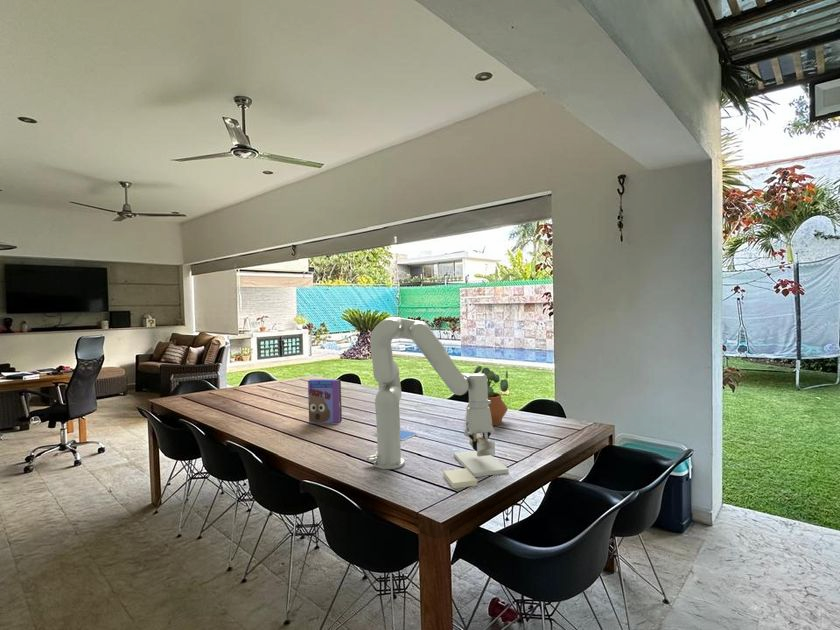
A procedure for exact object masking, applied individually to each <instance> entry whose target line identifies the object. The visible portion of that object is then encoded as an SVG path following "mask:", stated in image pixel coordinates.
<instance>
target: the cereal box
mask: <svg viewBox="0 0 840 630" xmlns="http://www.w3.org/2000/svg"><path fill="white" fill-rule="evenodd" d="M341 382H342V381H341V379H308V380H307V394H308V395H307V399H308V400H307V401H308V424H317V423H340V422H341V421H342V422H343V417H342V415H343V413H342V412H343V411H342V383H341ZM342 422H341V423H342ZM341 423H340V424H341Z"/></svg>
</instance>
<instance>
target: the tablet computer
mask: <svg viewBox="0 0 840 630" xmlns="http://www.w3.org/2000/svg"><path fill="white" fill-rule="evenodd" d="M417 434H418V433H417V432H413V431H407V430H402V429H400V441H401V440H404V441H406V439H407V440H409V439H411V438H413V436H414V437H416V436H418V435H417ZM376 435H377V432H375V433H373V436H376ZM415 435H416V436H415ZM410 437H411V438H410ZM408 438H409V439H408Z"/></svg>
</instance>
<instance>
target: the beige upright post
mask: <svg viewBox="0 0 840 630" xmlns="http://www.w3.org/2000/svg"><path fill="white" fill-rule="evenodd" d="M468 433H469V432H468ZM469 434H471V433H469ZM468 439H469V446H470V447H472V439H471V438H470V437H468ZM476 441H477V456H478V457H479V456H488V455H492V456H494V455H496V444H495V441H493V440H492V441H489V440H486V439H485V438H483V435H481V434H480V433H477V436H476Z"/></svg>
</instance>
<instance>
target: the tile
mask: <svg viewBox="0 0 840 630" xmlns="http://www.w3.org/2000/svg"><path fill="white" fill-rule="evenodd" d="M442 472H443V477H444V479H445V480H446V481H447V482H448V484H449V485H450V486H451V487H452V488H453V489H459V488H466V487H467V488H469V487H475V486H478V479H477V477H474V476H473V475H472V474H471V473H470V472H469V471H468V470H467V469H466V468H465V467H463V468H459V469H449V470H443V471H442Z"/></svg>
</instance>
